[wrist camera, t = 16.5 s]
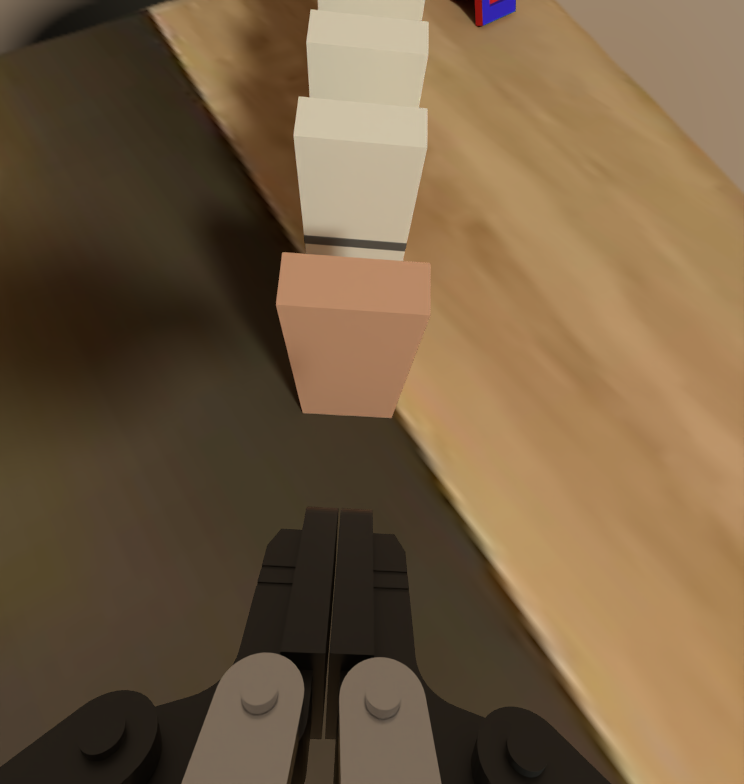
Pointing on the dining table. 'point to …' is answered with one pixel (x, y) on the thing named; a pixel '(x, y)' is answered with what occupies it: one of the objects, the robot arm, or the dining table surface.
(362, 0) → the domino
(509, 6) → the blue red-paneled block
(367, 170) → the domino
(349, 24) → the domino
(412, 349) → the domino
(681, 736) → the dining table surface
